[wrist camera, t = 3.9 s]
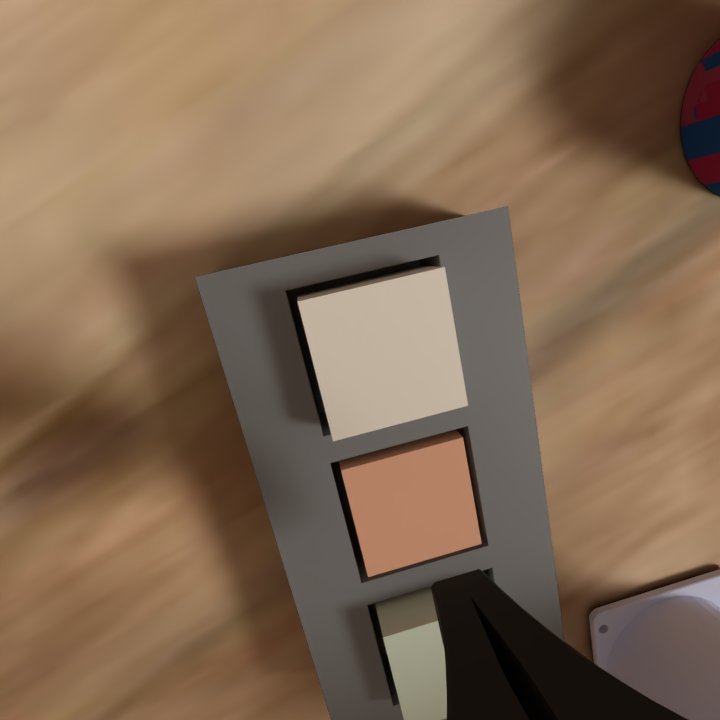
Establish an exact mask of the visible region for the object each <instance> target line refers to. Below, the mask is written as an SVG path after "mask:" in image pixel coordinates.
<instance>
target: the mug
mask: <svg viewBox="0 0 720 720" xmlns="http://www.w3.org/2000/svg"><path fill="white" fill-rule="evenodd" d="M681 138H682V144H683V149H684V153H685V156H686V159H687V161H688V163H689V166H690V168H691V169H692V171H693V172H694V174H695V175H696V177H697V178H698V179H699V180H700V181H701V182H702V183H703V184H704V185H705V186H706V187H707V188H708V189H710V190H711V191H713V192H714V193H716V194H717V195H720V39H719V40H718V41H717V42H716V43H715V44H714V45H713V46H712V47H711V48H710V49H709V50H708V51H707V53H706V54H705V56H704V57H703V58H702V60H701V61H700V62H699V64H698V66H697V68H696V70H695V72H694V74H693V76H692V78H691V80H690V83H689V85H688V88H687V91H686V94H685V97H684V102H683V107H682V113H681Z"/></svg>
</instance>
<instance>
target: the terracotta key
mask: <svg viewBox="0 0 720 720" xmlns="http://www.w3.org/2000/svg"><path fill="white" fill-rule="evenodd" d="M339 464H340V468H341V472H342V476H343V480H344V484H345V488H346V492H347V496H348V500H349V504H350V508H351V512H352V516H353V520H354V523H355V527H356V531H357V535H358V539H359V543H360V547H361V551H362V555H363V559H364V563H365V567H366V571H367V575H368V577H371V576H374V575H377V574H381V573H384V572H388V571H391V570H394V569H398V568H401V567H405V566H408V565H411V564H415V563H418V562H421V561H425V560H428V559H432V558H435V557H438V556H442V555H445V554H449V553H452V552H455V551H459V550H462V549H466V548H469V547H472V546H476V545H479V544H482V543H481V537H480V531H479V526H478V520H477V514H476V508H475V503H474V497H473V491H472V486H471V480H470V474H469V469H468V463H467V457H466V451H465V446H464V440H463V437H462V436H461V435H460V434H459V433H458V432H457V431H456V429H455V430H451V431H447V432H444V433H440V434H436V435H432V436H429V437H425V438H421V439H418V440H414V441H410V442H406V443H403V444H399V445H395V446H392V447H388V448H384V449H380V450H377V451H373V452H369V453H366V454H362V455H358V456H354V457H351V458H347V459H343V460H340V461H339Z"/></svg>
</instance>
